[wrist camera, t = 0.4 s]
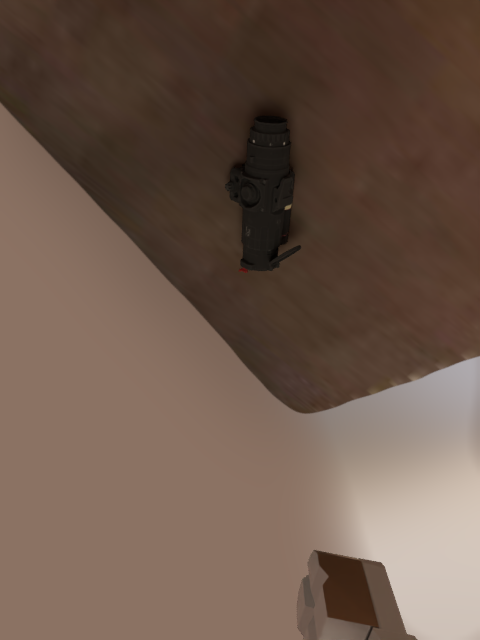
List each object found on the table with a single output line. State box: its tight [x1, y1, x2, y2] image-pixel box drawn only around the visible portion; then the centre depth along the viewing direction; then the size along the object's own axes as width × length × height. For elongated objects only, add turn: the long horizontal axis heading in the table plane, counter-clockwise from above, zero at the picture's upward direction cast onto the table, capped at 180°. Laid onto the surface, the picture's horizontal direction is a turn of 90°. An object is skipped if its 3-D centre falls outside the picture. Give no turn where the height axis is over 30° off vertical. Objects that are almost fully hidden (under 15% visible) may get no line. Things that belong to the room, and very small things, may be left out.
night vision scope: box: [225, 116, 301, 273], centre depth 52 cm, size 8×18×10 cm
